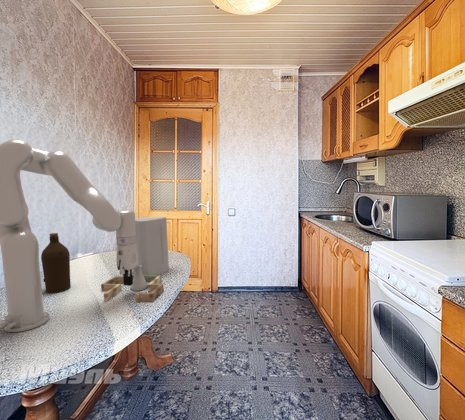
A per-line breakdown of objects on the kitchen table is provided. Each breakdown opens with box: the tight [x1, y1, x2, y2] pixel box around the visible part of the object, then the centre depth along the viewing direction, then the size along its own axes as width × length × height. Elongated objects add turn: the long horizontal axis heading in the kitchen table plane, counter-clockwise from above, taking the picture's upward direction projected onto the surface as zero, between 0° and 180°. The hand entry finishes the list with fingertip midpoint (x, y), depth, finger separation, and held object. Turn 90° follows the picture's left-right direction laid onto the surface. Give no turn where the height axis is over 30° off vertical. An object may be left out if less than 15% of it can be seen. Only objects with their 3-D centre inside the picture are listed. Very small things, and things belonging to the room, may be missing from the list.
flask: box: [129, 265, 148, 292], centre depth 126 cm, size 7×7×10 cm
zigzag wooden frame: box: [100, 274, 165, 303], centre depth 123 cm, size 23×27×3 cm
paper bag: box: [132, 216, 170, 275], centre depth 145 cm, size 19×15×28 cm
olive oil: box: [40, 232, 72, 294], centre depth 127 cm, size 11×11×25 cm
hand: (128, 284), depth 118 cm, fingers closed
